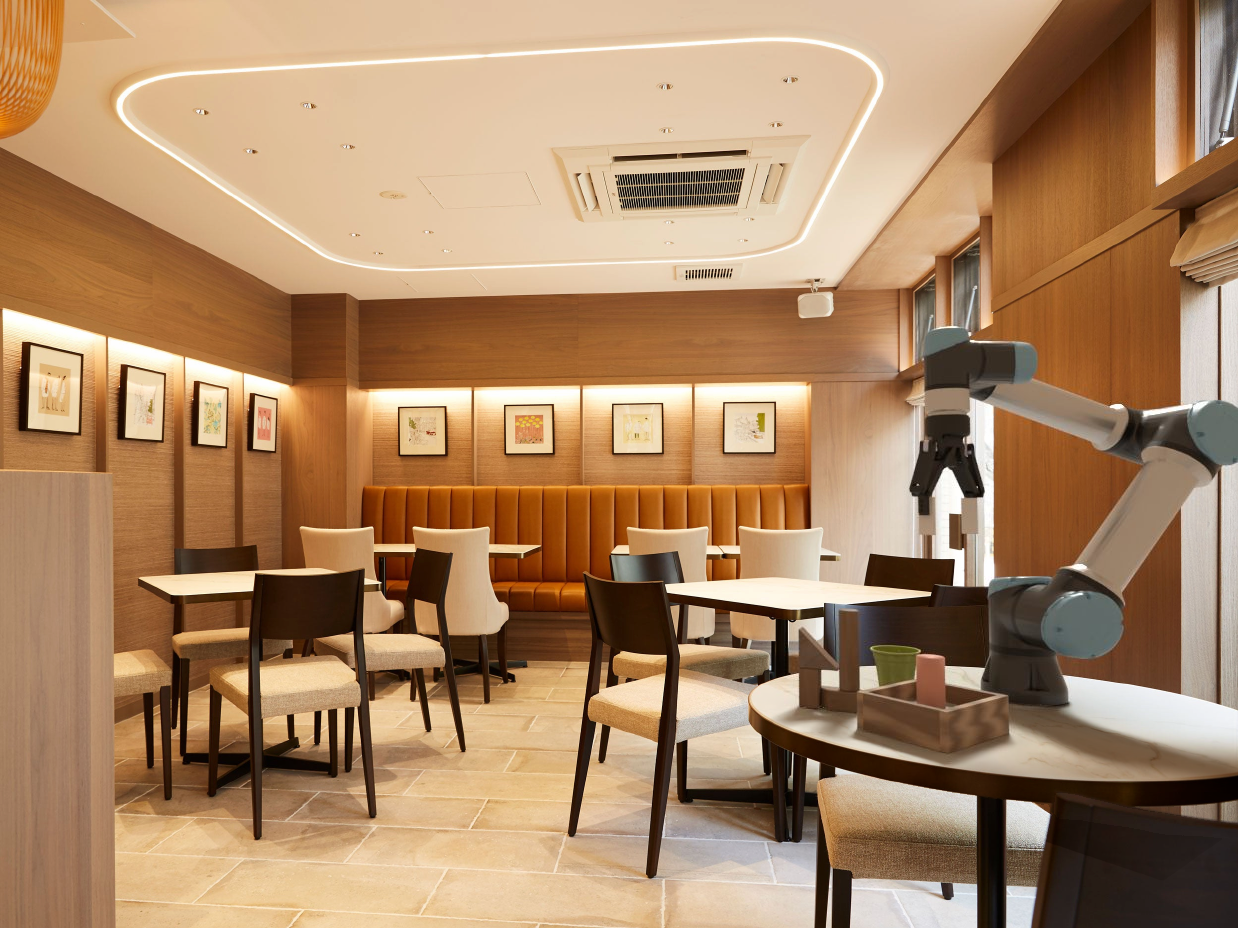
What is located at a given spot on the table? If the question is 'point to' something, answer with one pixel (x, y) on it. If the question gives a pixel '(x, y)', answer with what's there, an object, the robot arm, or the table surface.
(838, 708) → the brown wooden stacked blocks
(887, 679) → the plant pot
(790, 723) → the table surface
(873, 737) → the table surface
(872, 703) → the box
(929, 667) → the peg
